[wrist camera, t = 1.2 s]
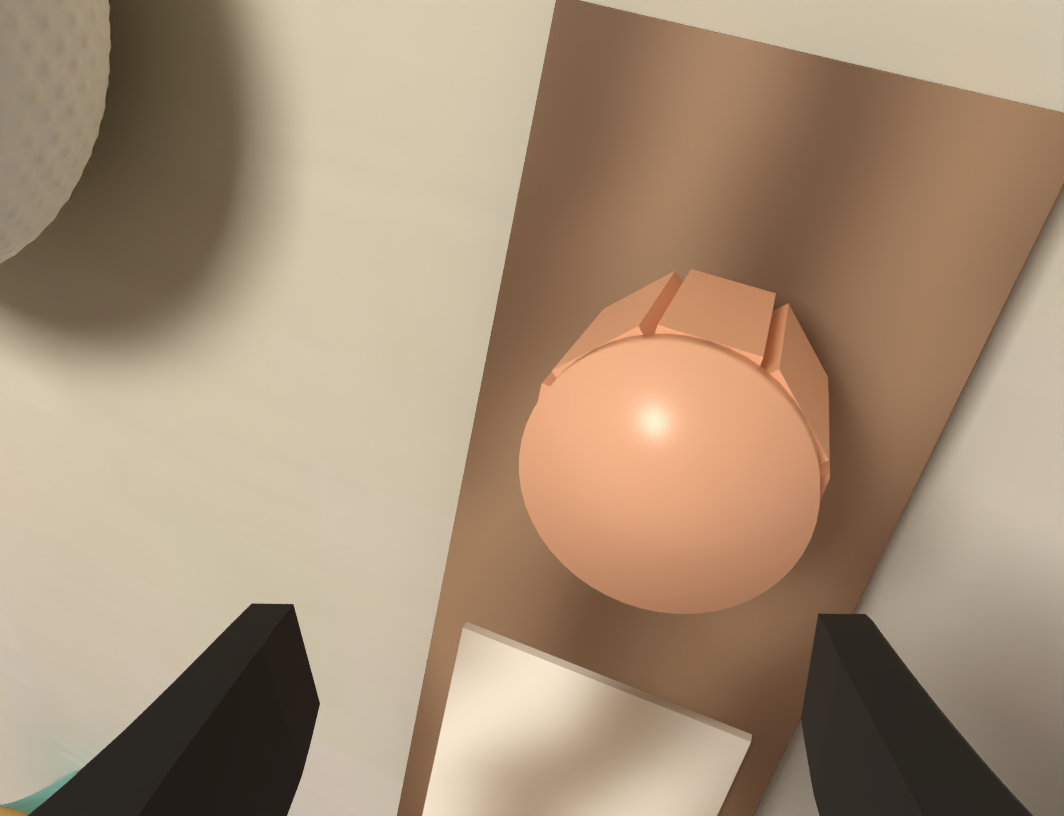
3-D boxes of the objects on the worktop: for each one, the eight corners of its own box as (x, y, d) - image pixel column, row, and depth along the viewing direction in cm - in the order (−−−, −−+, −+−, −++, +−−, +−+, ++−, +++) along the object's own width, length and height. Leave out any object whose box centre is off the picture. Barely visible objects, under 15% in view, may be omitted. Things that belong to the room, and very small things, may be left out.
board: (1073, 115, 17) (1226, 156, 11) (689, 917, 30) (651, 1163, 23) (574, -1, 19) (447, -25, 13) (412, 794, 32) (306, 988, 25)
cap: (859, 317, 17) (870, 403, 13) (773, 526, 19) (760, 654, 15) (613, 246, 18) (552, 304, 14) (561, 452, 20) (495, 554, 16)
